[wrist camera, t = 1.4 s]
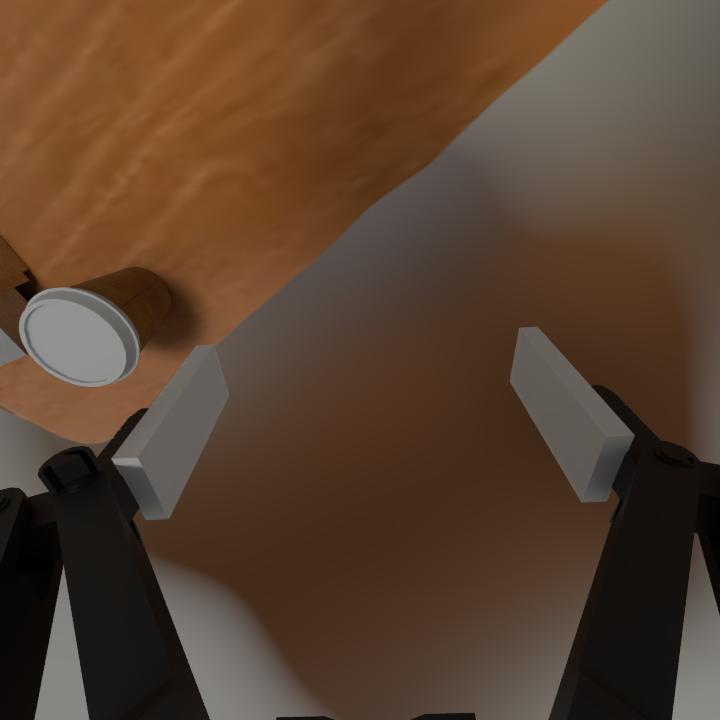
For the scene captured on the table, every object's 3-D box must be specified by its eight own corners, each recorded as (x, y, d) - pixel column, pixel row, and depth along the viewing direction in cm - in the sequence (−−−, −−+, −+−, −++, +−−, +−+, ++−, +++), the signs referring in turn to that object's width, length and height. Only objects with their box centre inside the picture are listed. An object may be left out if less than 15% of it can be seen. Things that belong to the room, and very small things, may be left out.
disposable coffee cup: (122, 337, 45) (53, 397, 35) (81, 259, 41) (-14, 302, 30) (198, 326, 45) (150, 384, 34) (165, 245, 40) (97, 285, 30)
